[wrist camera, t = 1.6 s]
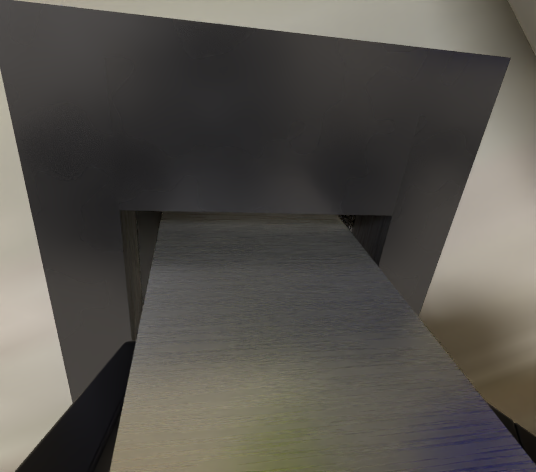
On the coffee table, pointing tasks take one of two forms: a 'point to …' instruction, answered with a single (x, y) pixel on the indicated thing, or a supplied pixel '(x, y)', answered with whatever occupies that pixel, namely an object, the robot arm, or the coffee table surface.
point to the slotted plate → (226, 146)
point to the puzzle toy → (526, 18)
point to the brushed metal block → (292, 360)
